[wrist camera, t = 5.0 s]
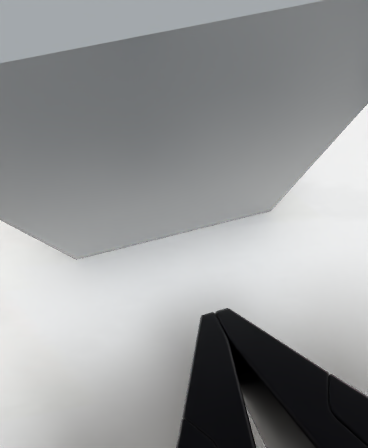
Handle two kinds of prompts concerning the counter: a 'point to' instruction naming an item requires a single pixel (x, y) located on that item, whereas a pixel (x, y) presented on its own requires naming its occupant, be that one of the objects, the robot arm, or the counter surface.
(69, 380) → the counter surface
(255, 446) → the robot arm
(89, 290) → the counter surface
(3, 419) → the counter surface
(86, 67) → the tile
